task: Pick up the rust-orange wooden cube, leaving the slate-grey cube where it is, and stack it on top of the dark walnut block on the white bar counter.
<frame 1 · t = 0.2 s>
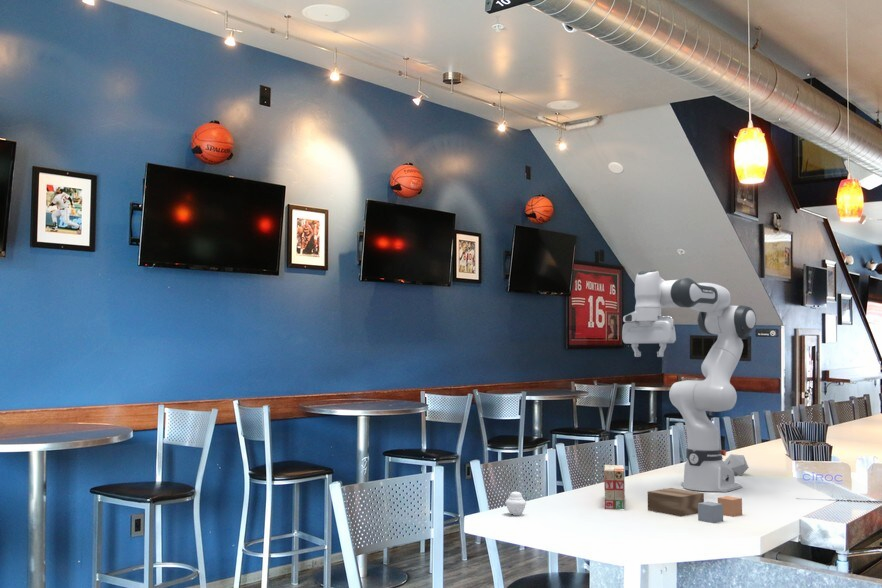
hand: (648, 356, 273), 48 cm above the bar counter, tool pointing down, fingers open, 8 cm apart
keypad: (676, 503, 262), on the bar counter
die: (736, 475, 323), on the bar counter
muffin: (515, 515, 239), on the bar counter
walnut block: (675, 512, 246), on the bar counter
stack of blocks: (614, 504, 259), on the bar counter
rust cube: (730, 514, 241), on the bar counter
grey cube: (710, 521, 231), on the bar counter
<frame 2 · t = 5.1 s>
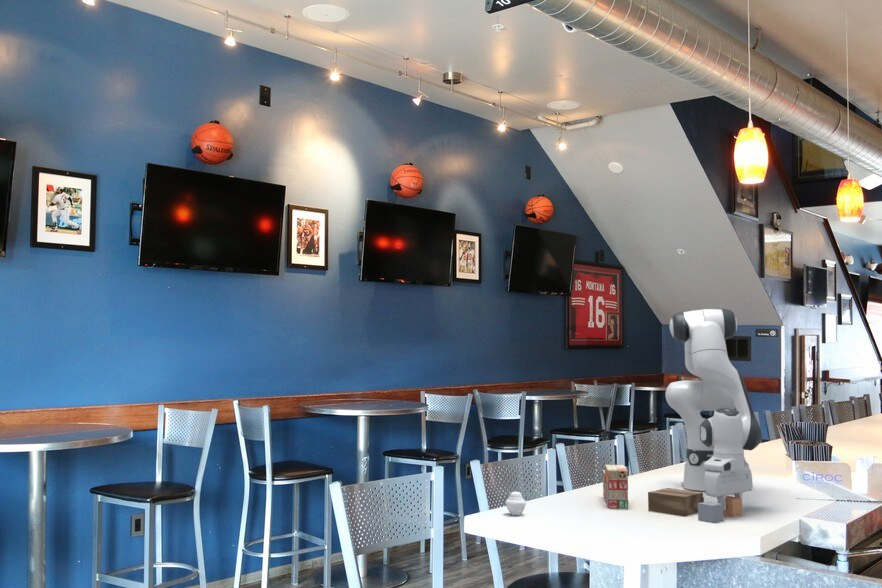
hand: (730, 508, 241), 2 cm above the bar counter, tool pointing down, fingers closed on rust cube, 5 cm apart
rust cube: (730, 514, 241), on the bar counter, touching gripper
when the fingers open (9 cm above the bar counter, at t = 11.1 s): rust cube drops 2 cm, point 6 cm above the bar counter.
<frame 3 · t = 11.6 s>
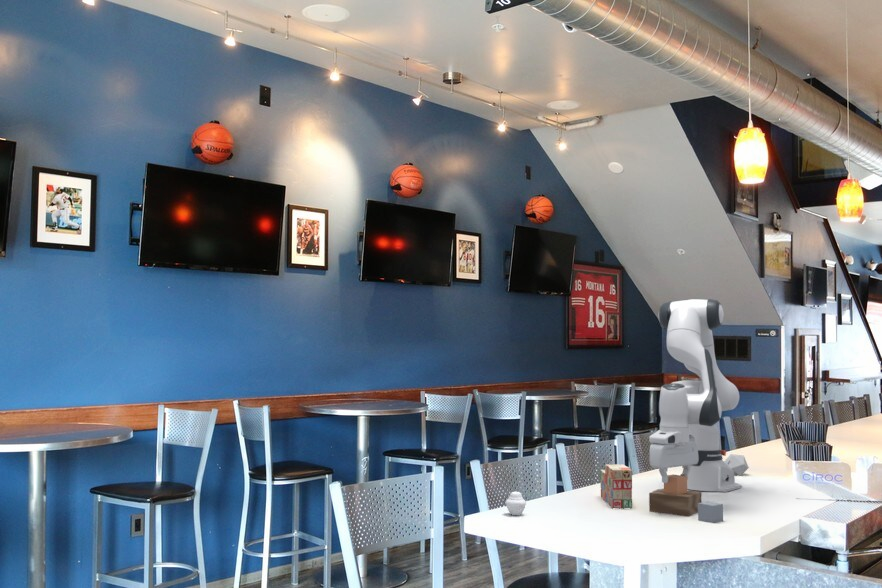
hand: (675, 481, 246), 9 cm above the bar counter, tool pointing down, fingers open, 8 cm apart
rust cube: (675, 492, 246), point 6 cm above the bar counter
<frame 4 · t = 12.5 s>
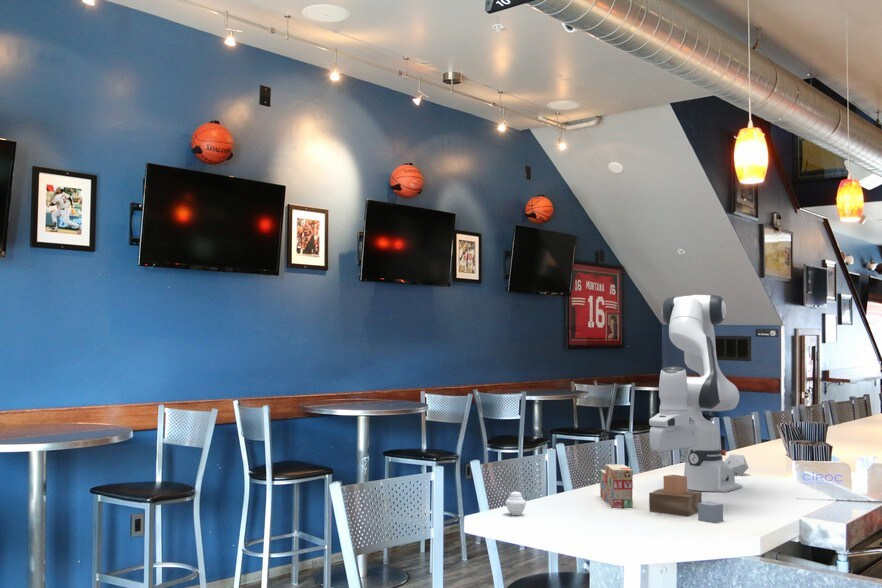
hand: (675, 463, 247), 14 cm above the bar counter, tool pointing down, fingers open, 8 cm apart
walnut block: (675, 512, 246), on the bar counter, touching rust cube
rust cube: (675, 492, 246), point 6 cm above the bar counter, touching walnut block
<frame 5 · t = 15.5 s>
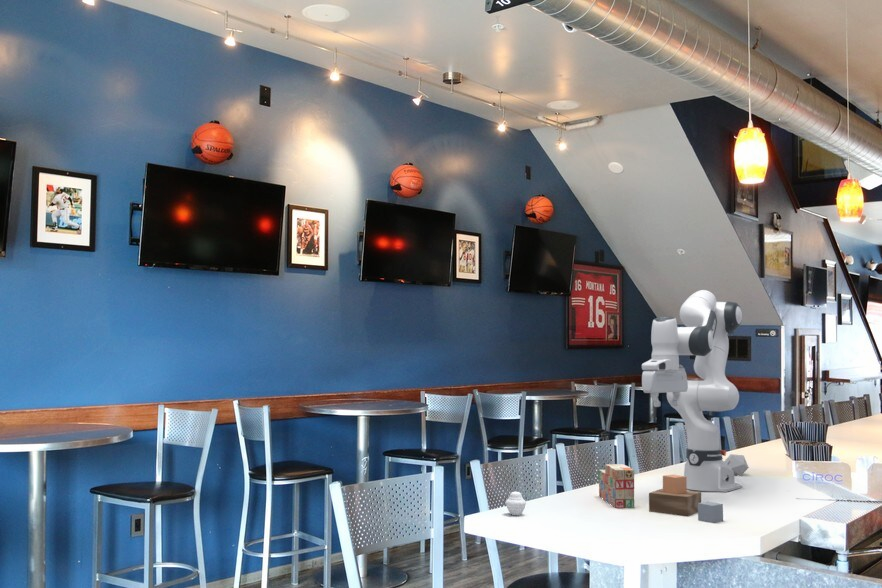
hand: (665, 406, 265), 31 cm above the bar counter, tool pointing down, fingers open, 8 cm apart
walnut block: (675, 512, 246), on the bar counter
rust cube: (674, 492, 246), point 6 cm above the bar counter
at the end: rust cube inside the target area on the walnut block (0.2 cm from its centre), point 6.0 cm above the walnut block's base; the gripper is holding nothing; grey cube moved 0.1 cm from its start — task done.
